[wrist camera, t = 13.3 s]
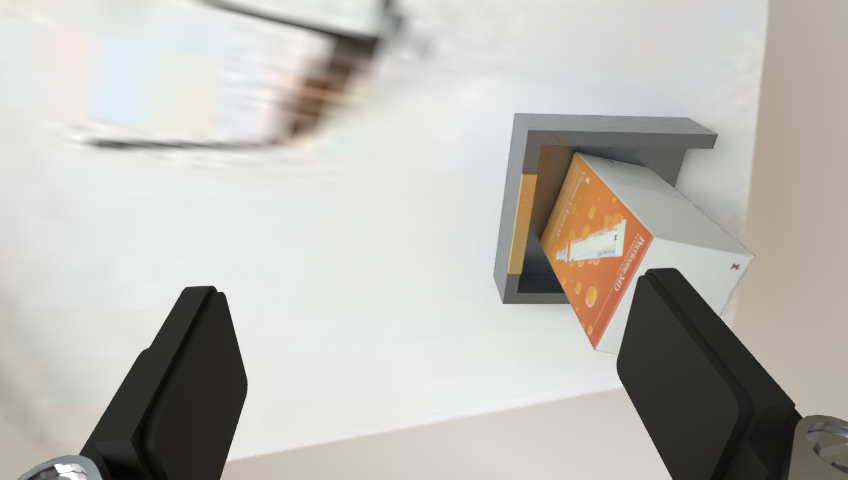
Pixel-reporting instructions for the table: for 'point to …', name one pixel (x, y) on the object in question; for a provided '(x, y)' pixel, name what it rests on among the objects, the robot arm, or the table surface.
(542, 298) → the cradle
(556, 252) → the small box
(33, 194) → the table surface
